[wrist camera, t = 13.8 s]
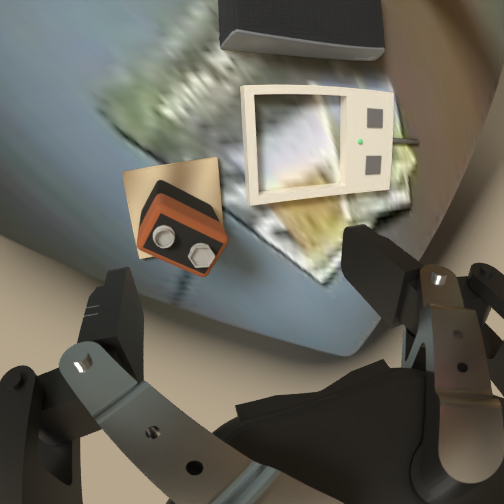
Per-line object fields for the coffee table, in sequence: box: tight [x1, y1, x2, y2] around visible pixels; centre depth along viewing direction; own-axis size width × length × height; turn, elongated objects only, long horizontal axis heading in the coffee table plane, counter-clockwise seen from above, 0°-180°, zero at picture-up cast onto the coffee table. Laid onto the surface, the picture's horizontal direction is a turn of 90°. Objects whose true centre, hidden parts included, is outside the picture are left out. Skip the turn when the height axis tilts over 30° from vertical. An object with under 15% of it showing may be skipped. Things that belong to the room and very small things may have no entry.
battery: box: [137, 180, 229, 277], centre depth 28 cm, size 4×7×10 cm, turn 56°
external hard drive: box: [218, 0, 385, 61], centre depth 25 cm, size 13×19×4 cm
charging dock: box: [240, 85, 420, 206], centre depth 34 cm, size 26×13×2 cm, turn 93°
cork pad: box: [123, 157, 224, 259], centre depth 33 cm, size 10×10×1 cm
